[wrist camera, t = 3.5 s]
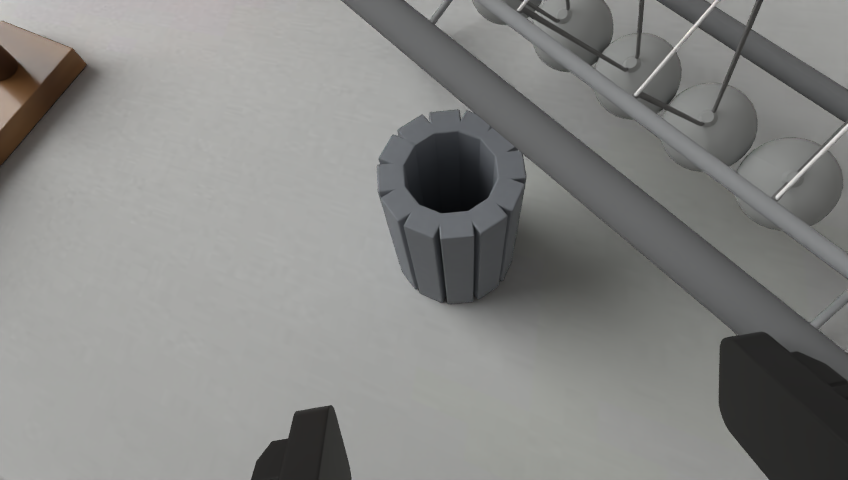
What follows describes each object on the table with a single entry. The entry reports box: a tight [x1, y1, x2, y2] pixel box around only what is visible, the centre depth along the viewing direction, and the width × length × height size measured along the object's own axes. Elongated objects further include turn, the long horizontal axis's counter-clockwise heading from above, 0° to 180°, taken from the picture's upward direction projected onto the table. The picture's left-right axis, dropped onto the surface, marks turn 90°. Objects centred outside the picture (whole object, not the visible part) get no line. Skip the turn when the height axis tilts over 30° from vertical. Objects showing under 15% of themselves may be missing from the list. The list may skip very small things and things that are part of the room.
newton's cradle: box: [341, 0, 848, 382], centre depth 22 cm, size 30×10×18 cm, turn 42°
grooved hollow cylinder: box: [377, 109, 526, 304], centre depth 27 cm, size 6×6×8 cm
